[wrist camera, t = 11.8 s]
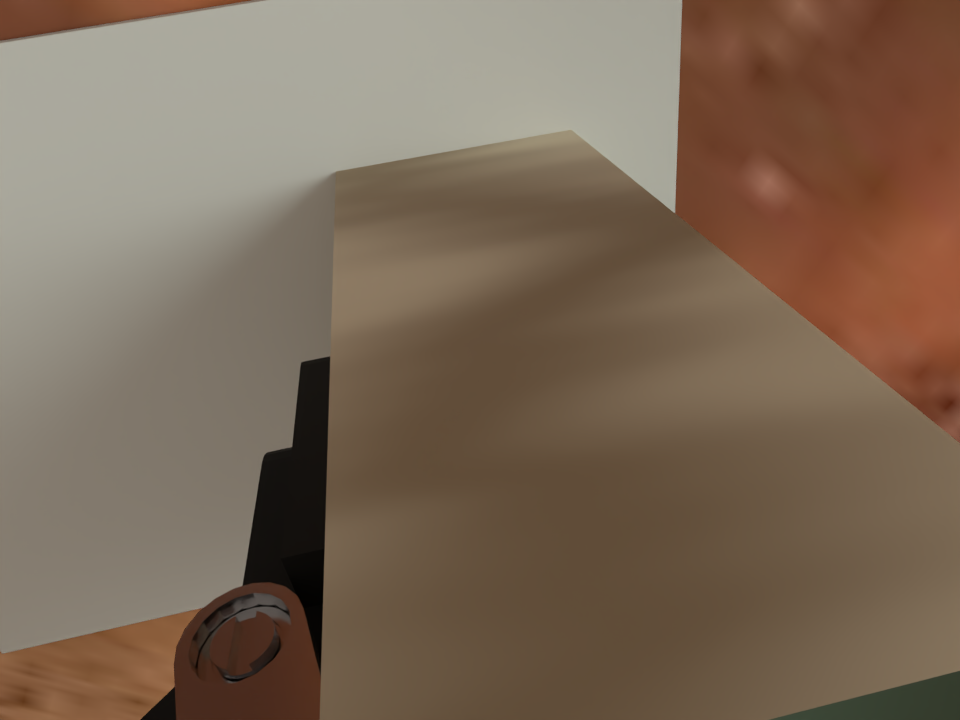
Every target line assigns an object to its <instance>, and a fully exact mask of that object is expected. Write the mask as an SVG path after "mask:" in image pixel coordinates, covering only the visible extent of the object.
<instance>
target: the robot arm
mask: <svg viewBox="0 0 960 720" xmlns="http://www.w3.org/2000/svg"><path fill="white" fill-rule="evenodd" d="M329 385H330V356H328V357H324V358H319V359H314V360H309V361H304V362H301V366H300V375H299V385H298V395H297V404H296V414H295V424H294V433H293V443H292V447H290V448H285V449H280V450H276V451H271V452H267V453H266V454H265V455H264V457H263V461H262V465H261V472H260V478H259V484H258V491H257V497H256V503H255V510H254V516H253V522H252V529H251V535H250V541H249V548H248V554H247V560H246V567H245V573H244V579H243V585H242V586H241V587H237V588H234V589H232V590H230V591H228V592H226V593H225V594H223V595H221V596H219V597H217V598H215V599H214V600H213V601H212V602H210V603H209V604H208V605H207V606H205V607H204V608H203V609H202V610H201V611H199V612H198V613H197V615H196V616H195V617H194V618H193V620H192V621H191V622H190V623H189V625H188V626H187V627H186V628H185V630H184V632H183V634H182V636H181V638H180V641H179V643H178V645H177V647H176V654H175V661H174V677H175V687H174V688H173V689H172V690H171V691H170V692H169V693H168V694H167V695H166V696H165V697H164V698H163V699H162V700H161V701H159V702H158V703H157V704H156V705H155V706H154V707H153V708H152V709H151V710H150V711H149V712H148V713H147V714H146V715H145V716H144V717H143V718H142V719H141V720H320V690H321V656H322V622H323V588H324V554H325V520H326V486H327V452H328V419H329Z"/></svg>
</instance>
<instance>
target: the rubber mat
mask: <svg viewBox="0 0 960 720" xmlns="http://www.w3.org/2000/svg"><path fill="white" fill-rule="evenodd" d="M681 19H682V0H252V1H246V2H240V3H233V4H227V5H221V6H215V7H208V8H202V9H196V10H190V11H184V12H177V13H171V14H165V15H159V16H152V17H146V18H140V19H134V20H128V21H121V22H115V23H109V24H103V25H96V26H90V27H84V28H78V29H72V30H65V31H59V32H53V33H47V34H40V35H34V36H28V37H22V38H16V39H9V40H3V41H0V651H1V652H2V653H8V652H12V651H16V650H21V649H25V648H29V647H34V646H38V645H43V644H47V643H51V642H56V641H60V640H64V639H69V638H73V637H77V636H82V635H86V634H91V633H95V632H99V631H104V630H108V629H112V628H117V627H121V626H125V625H130V624H134V623H139V622H143V621H147V620H152V619H156V618H160V617H165V616H169V615H173V614H178V613H182V612H187V611H191V610H195V609H200V608H204V607H205V606H207V605H208V604H209V603H210V602H212V601H213V600H214V599H215V598H217V597H219V596H221V595H223V594H225V593H226V592H228V591H230V590H232V589H234V588H237V587H241V586H242V585H243V579H244V573H245V567H246V560H247V554H248V548H249V541H250V535H251V529H252V522H253V516H254V510H255V503H256V497H257V491H258V484H259V478H260V472H261V465H262V461H263V457H264V455H265V454H266V453H267V452H271V451H276V450H280V449H285V448H290V447H292V443H293V433H294V424H295V414H296V404H297V395H298V385H299V375H300V366H301V362H304V361H309V360H314V359H319V358H324V357H328V356H330V351H331V317H332V283H333V249H334V215H335V181H336V171H342V170H347V169H353V168H358V167H364V166H370V165H375V164H381V163H387V162H392V161H398V160H403V159H409V158H415V157H420V156H426V155H432V154H437V153H443V152H448V151H454V150H460V149H465V148H471V147H477V146H482V145H488V144H493V143H499V142H505V141H510V140H516V139H522V138H527V137H533V136H538V135H544V134H550V133H555V132H561V131H567V130H572V131H574V132H575V133H576V134H577V135H578V136H580V137H581V138H582V139H583V140H585V141H586V142H587V143H588V144H590V145H591V146H592V147H593V148H595V149H596V150H597V151H598V152H600V153H601V154H602V155H603V156H604V157H606V158H607V159H608V160H609V161H611V162H612V163H613V164H614V165H616V166H617V167H618V168H619V169H621V170H622V171H623V172H624V173H626V174H627V175H628V176H629V177H630V178H632V179H633V180H634V181H635V182H637V183H638V184H639V185H640V186H642V187H643V188H644V189H645V190H647V191H648V192H649V193H650V194H652V195H653V196H654V197H655V198H657V199H658V200H659V201H660V202H661V203H663V204H664V205H665V206H666V207H668V208H669V209H670V210H671V211H673V212H674V213H675V196H676V166H677V137H678V107H679V78H680V48H681Z"/></svg>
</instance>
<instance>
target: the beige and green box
mask: <svg viewBox="0 0 960 720" xmlns="http://www.w3.org/2000/svg"><path fill="white" fill-rule="evenodd" d="M320 720H960V443H959V442H957V441H956V440H955V439H954V438H953V437H951V436H950V435H949V434H948V433H946V432H945V431H944V430H943V429H941V428H940V427H939V426H938V425H936V424H935V423H934V422H933V421H931V420H930V419H929V418H928V417H927V416H925V415H924V414H923V413H922V412H920V411H919V410H918V409H917V408H915V407H914V406H913V405H912V404H910V403H909V402H908V401H907V400H905V399H904V398H903V397H902V396H901V395H899V394H898V393H897V392H896V391H894V390H893V389H892V388H891V387H889V386H888V385H887V384H886V383H884V382H883V381H882V380H881V379H879V378H878V377H877V376H876V375H875V374H873V373H872V372H871V371H870V370H868V369H867V368H866V367H865V366H863V365H862V364H861V363H860V362H858V361H857V360H856V359H855V358H853V357H852V356H851V355H850V354H848V353H847V352H846V351H845V350H844V349H842V348H841V347H840V346H839V345H837V344H836V343H835V342H834V341H832V340H831V339H830V338H829V337H827V336H826V335H825V334H824V333H822V332H821V331H820V330H819V329H818V328H816V327H815V326H814V325H813V324H811V323H810V322H809V321H808V320H806V319H805V318H804V317H803V316H801V315H800V314H799V313H798V312H796V311H795V310H794V309H793V308H792V307H790V306H789V305H788V304H787V303H785V302H784V301H783V300H782V299H780V298H779V297H778V296H777V295H775V294H774V293H773V292H772V291H770V290H769V289H768V288H767V287H766V286H764V285H763V284H762V283H761V282H759V281H758V280H757V279H756V278H754V277H753V276H752V275H751V274H749V273H748V272H747V271H746V270H744V269H743V268H742V267H741V266H739V265H738V264H737V263H736V262H735V261H733V260H732V259H731V258H730V257H728V256H727V255H726V254H725V253H723V252H722V251H721V250H720V249H718V248H717V247H716V246H715V245H713V244H712V243H711V242H710V241H709V240H707V239H706V238H705V237H704V236H702V235H701V234H700V233H699V232H697V231H696V230H695V229H694V228H692V227H691V226H690V225H689V224H687V223H686V222H685V221H684V220H683V219H681V218H680V217H679V216H678V215H676V214H675V213H674V212H673V211H671V210H670V209H669V208H668V207H666V206H665V205H664V204H663V203H661V202H660V201H659V200H658V199H657V198H655V197H654V196H653V195H652V194H650V193H649V192H648V191H647V190H645V189H644V188H643V187H642V186H640V185H639V184H638V183H637V182H635V181H634V180H633V179H632V178H630V177H629V176H628V175H627V174H626V173H624V172H623V171H622V170H621V169H619V168H618V167H617V166H616V165H614V164H613V163H612V162H611V161H609V160H608V159H607V158H606V157H604V156H603V155H602V154H601V153H600V152H598V151H597V150H596V149H595V148H593V147H592V146H591V145H590V144H588V143H587V142H586V141H585V140H583V139H582V138H581V137H580V136H578V135H577V134H576V133H575V132H574V131H572V130H567V131H561V132H555V133H550V134H544V135H538V136H533V137H527V138H522V139H516V140H510V141H505V142H499V143H493V144H488V145H482V146H477V147H471V148H465V149H460V150H454V151H448V152H443V153H437V154H432V155H426V156H420V157H415V158H409V159H403V160H398V161H392V162H387V163H381V164H375V165H370V166H364V167H358V168H353V169H347V170H342V171H336V181H335V215H334V249H333V283H332V317H331V351H330V385H329V419H328V452H327V486H326V520H325V554H324V588H323V622H322V656H321V690H320Z"/></svg>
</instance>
